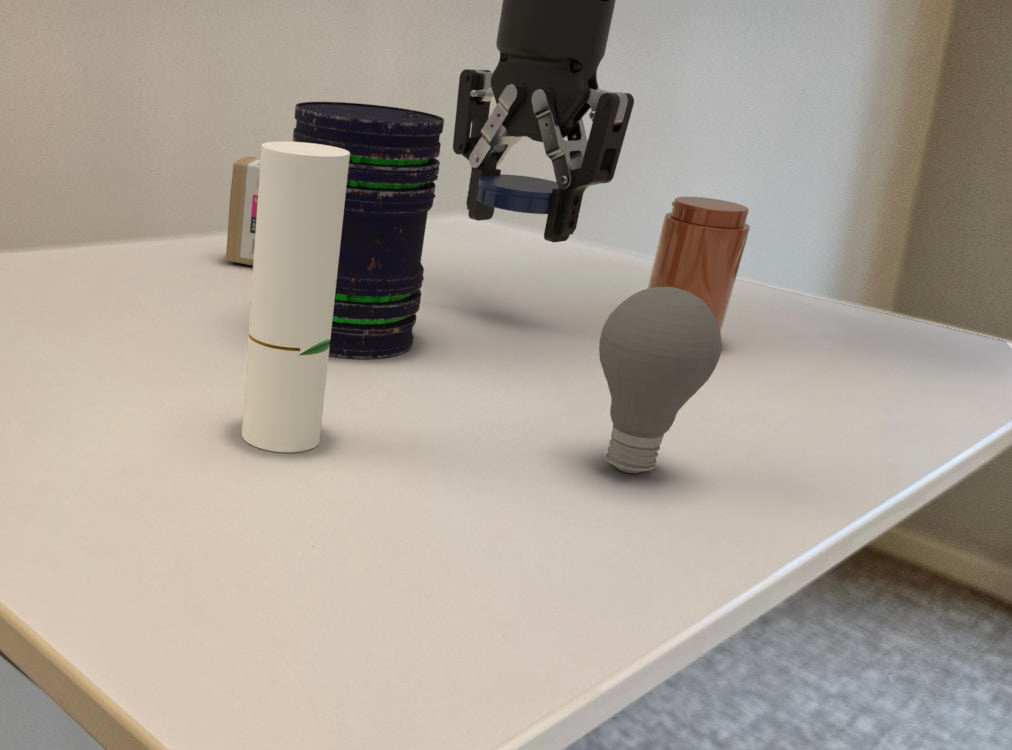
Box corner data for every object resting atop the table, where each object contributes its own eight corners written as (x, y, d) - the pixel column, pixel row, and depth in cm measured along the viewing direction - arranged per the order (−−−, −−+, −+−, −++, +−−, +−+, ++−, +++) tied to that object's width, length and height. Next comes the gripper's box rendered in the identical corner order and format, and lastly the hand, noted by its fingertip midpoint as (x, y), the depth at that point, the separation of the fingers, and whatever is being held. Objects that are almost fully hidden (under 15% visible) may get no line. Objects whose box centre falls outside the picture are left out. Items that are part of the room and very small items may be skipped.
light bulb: (653, 448, 62) (698, 275, 57) (705, 493, 57) (759, 307, 52) (556, 447, 61) (593, 271, 56) (600, 493, 56) (646, 303, 51)
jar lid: (493, 211, 77) (497, 190, 76) (463, 192, 82) (467, 172, 82) (582, 216, 78) (586, 195, 77) (546, 197, 84) (550, 177, 83)
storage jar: (302, 361, 71) (324, 119, 64) (257, 317, 79) (272, 98, 72) (438, 357, 74) (473, 126, 67) (381, 315, 82) (408, 105, 75)
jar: (663, 324, 87) (696, 193, 82) (731, 345, 83) (770, 209, 78) (621, 334, 83) (653, 197, 78) (690, 356, 79) (728, 214, 74)
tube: (249, 452, 57) (270, 153, 50) (235, 422, 60) (254, 139, 53) (327, 452, 57) (360, 158, 50) (310, 422, 61) (337, 144, 54)
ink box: (223, 263, 92) (229, 161, 88) (238, 254, 95) (244, 155, 92) (338, 281, 90) (349, 177, 86) (349, 272, 93) (360, 171, 89)
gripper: (446, -29, 76) (414, 213, 83) (619, -14, 66) (563, 256, 74) (514, -22, 80) (477, 207, 88) (684, -7, 71) (626, 247, 79)
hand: (517, 229), depth 81 cm, fingers closed on jar lid, 6 cm apart
